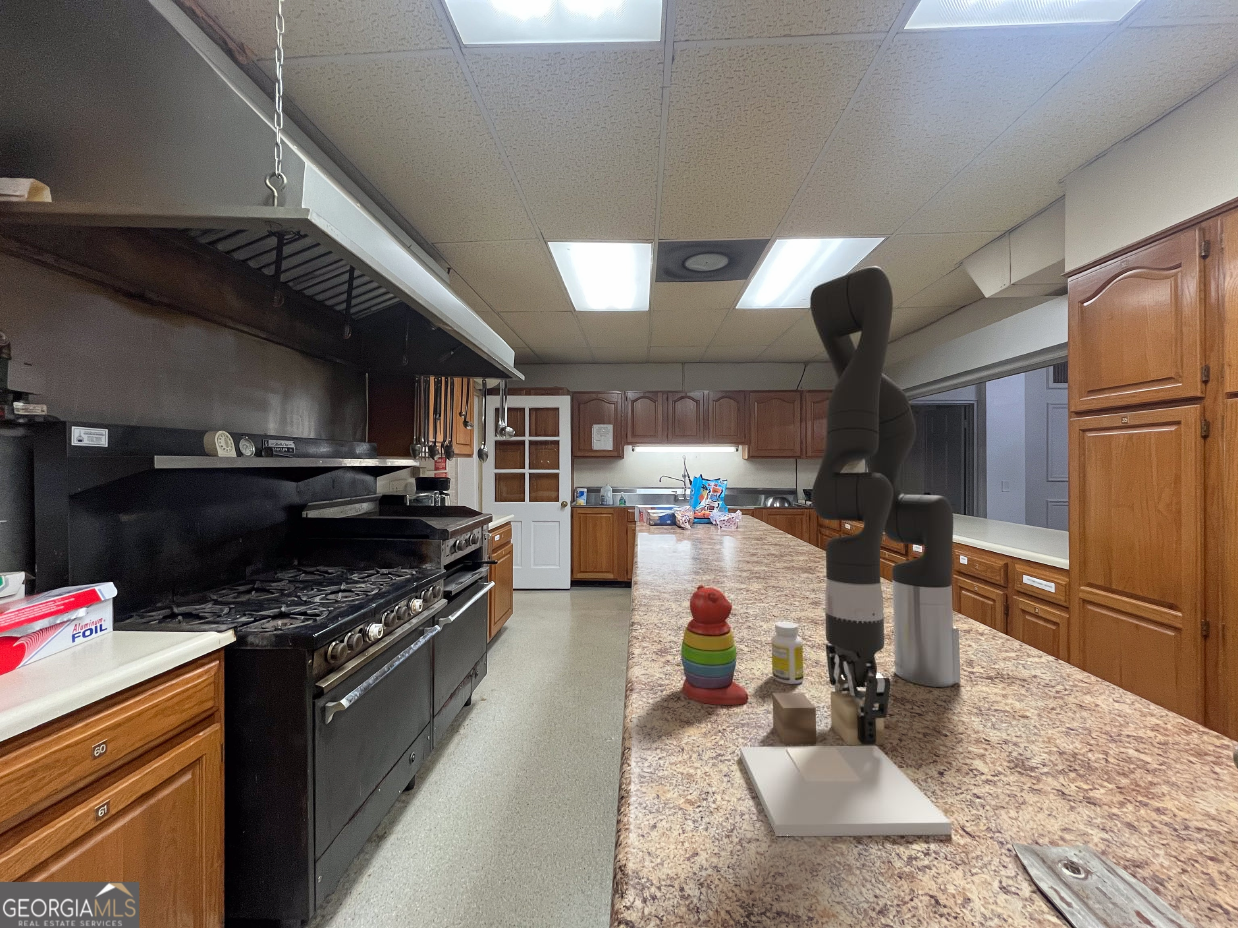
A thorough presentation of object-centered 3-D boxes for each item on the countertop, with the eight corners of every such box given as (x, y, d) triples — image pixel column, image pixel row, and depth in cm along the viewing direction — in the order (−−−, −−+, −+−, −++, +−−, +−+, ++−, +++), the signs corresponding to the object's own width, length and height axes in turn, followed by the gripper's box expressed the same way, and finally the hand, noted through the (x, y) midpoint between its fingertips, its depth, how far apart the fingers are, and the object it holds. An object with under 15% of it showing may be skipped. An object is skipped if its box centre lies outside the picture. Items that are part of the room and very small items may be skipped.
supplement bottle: (798, 672, 89) (797, 620, 89) (807, 685, 83) (806, 629, 84) (769, 672, 89) (768, 619, 90) (776, 684, 84) (774, 628, 84)
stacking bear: (752, 704, 77) (750, 593, 77) (692, 709, 75) (691, 596, 76) (727, 676, 87) (725, 579, 88) (674, 680, 86) (673, 582, 86)
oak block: (864, 725, 70) (864, 690, 70) (884, 744, 65) (883, 707, 65) (831, 725, 70) (830, 691, 70) (847, 744, 65) (847, 707, 65)
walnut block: (803, 727, 69) (802, 692, 70) (816, 744, 65) (815, 707, 65) (773, 727, 69) (772, 693, 70) (783, 744, 65) (783, 707, 65)
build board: (876, 754, 62) (876, 743, 62) (951, 834, 48) (951, 820, 48) (740, 756, 62) (740, 745, 62) (776, 836, 48) (775, 822, 48)
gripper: (910, 626, 61) (914, 761, 60) (854, 598, 75) (857, 707, 74) (852, 626, 61) (855, 761, 60) (807, 598, 75) (809, 707, 74)
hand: (856, 730), depth 67 cm, fingers closed on oak block, 5 cm apart
